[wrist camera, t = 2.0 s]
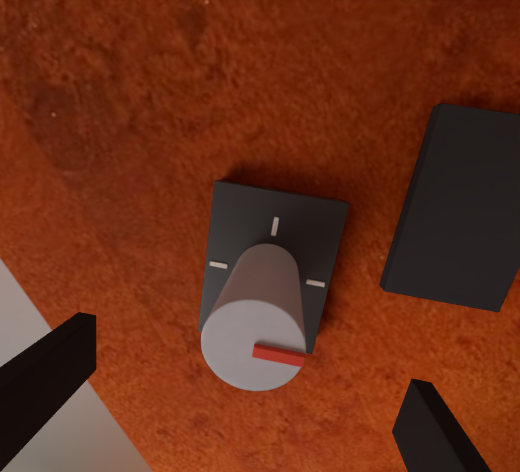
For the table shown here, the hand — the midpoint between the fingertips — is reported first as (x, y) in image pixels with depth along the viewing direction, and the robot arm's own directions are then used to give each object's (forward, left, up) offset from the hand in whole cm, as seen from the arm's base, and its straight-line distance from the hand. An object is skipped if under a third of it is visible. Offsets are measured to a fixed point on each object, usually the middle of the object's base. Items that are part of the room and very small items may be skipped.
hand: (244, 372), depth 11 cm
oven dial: (0, 0, -11) cm, 11 cm away
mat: (-7, +14, -13) cm, 20 cm away
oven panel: (0, 0, -13) cm, 13 cm away
